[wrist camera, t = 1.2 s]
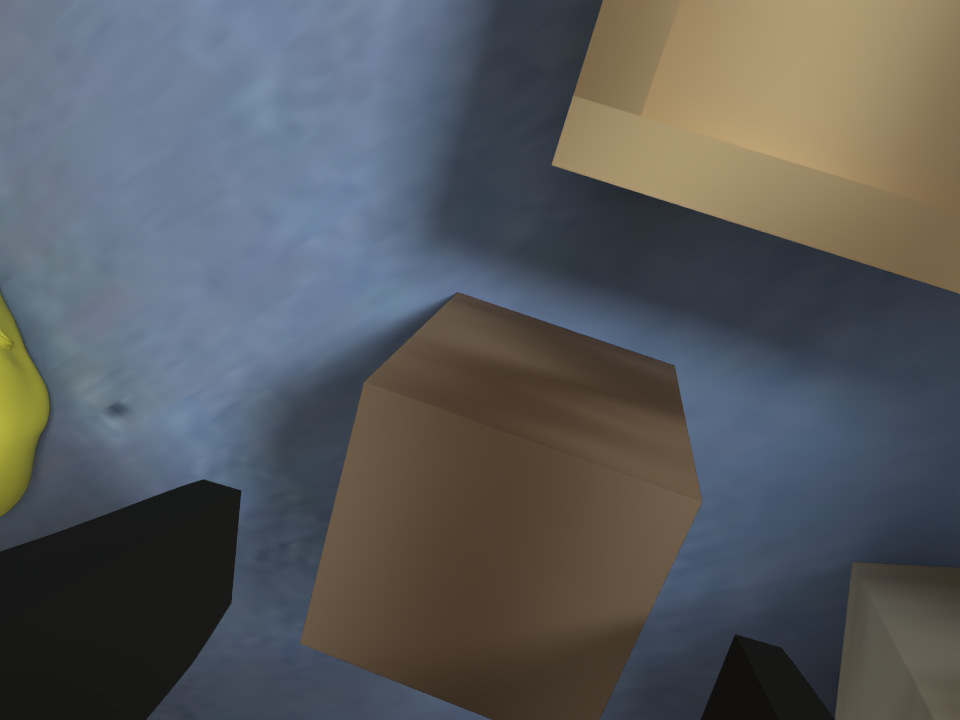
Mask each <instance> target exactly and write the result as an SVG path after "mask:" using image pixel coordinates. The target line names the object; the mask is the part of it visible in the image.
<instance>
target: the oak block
mask: <svg viewBox="0 0 960 720" xmlns="http://www.w3.org/2000/svg"><path fill="white" fill-rule="evenodd" d="M552 165H553V166H556V167H559V168H562V169H566V170H569V171H572V172H575V173H578V174H581V175H585V176H588V177H591V178H594V179H597V180H600V181H604V182H607V183H610V184H613V185H616V186H619V187H623V188H626V189H629V190H632V191H635V192H639V193H642V194H645V195H648V196H651V197H654V198H658V199H661V200H664V201H667V202H670V203H673V204H677V205H680V206H683V207H686V208H689V209H692V210H696V211H699V212H702V213H705V214H708V215H711V216H715V217H718V218H721V219H724V220H727V221H730V222H734V223H737V224H740V225H743V226H746V227H750V228H753V229H756V230H759V231H762V232H765V233H769V234H772V235H775V236H778V237H781V238H784V239H788V240H791V241H794V242H797V243H800V244H803V245H807V246H810V247H813V248H816V249H819V250H822V251H826V252H829V253H832V254H835V255H838V256H841V257H845V258H848V259H851V260H854V261H857V262H861V263H864V264H867V265H870V266H873V267H876V268H880V269H883V270H886V271H889V272H892V273H895V274H899V275H902V276H905V277H908V278H911V279H914V280H918V281H921V282H924V283H927V284H930V285H933V286H937V287H940V288H943V289H946V290H949V291H953V292H956V293H959V294H960V0H603V2H602V5H601V8H600V12H599V15H598V18H597V21H596V24H595V28H594V31H593V34H592V37H591V40H590V44H589V47H588V50H587V53H586V56H585V60H584V63H583V66H582V69H581V72H580V76H579V79H578V82H577V85H576V88H575V91H574V95H573V98H572V101H571V104H570V107H569V111H568V114H567V117H566V120H565V123H564V127H563V130H562V133H561V136H560V139H559V143H558V146H557V149H556V152H555V155H554V159H553V162H552Z"/></svg>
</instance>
